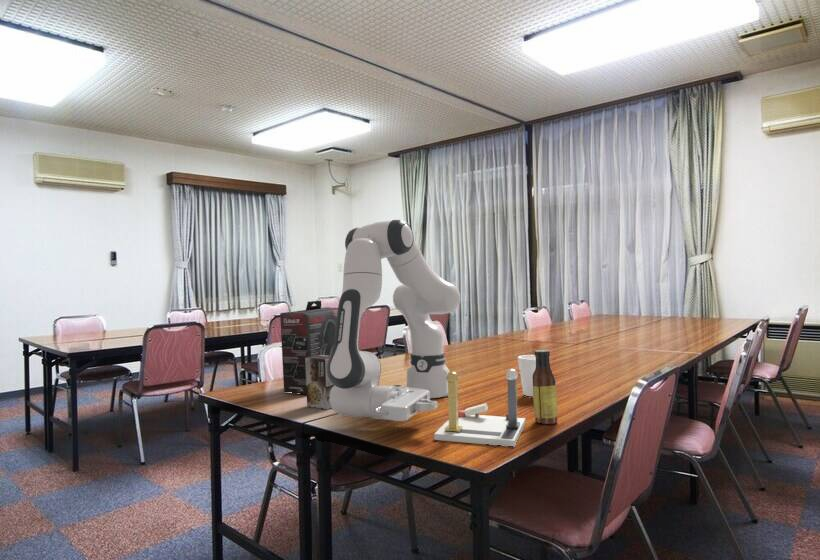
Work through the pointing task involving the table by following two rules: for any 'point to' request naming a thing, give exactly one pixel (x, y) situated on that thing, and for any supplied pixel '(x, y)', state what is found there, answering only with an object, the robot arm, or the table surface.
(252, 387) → the table surface
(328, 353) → the headset box
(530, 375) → the foam cup
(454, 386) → the brass lever
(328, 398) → the coffee box
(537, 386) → the sauce bottle
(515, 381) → the graphite lever
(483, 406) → the block
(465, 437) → the panel
